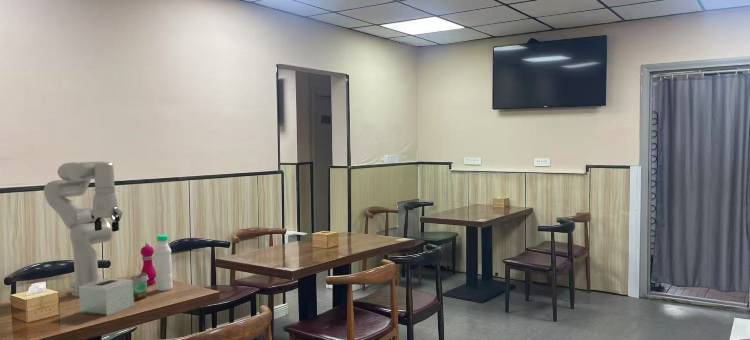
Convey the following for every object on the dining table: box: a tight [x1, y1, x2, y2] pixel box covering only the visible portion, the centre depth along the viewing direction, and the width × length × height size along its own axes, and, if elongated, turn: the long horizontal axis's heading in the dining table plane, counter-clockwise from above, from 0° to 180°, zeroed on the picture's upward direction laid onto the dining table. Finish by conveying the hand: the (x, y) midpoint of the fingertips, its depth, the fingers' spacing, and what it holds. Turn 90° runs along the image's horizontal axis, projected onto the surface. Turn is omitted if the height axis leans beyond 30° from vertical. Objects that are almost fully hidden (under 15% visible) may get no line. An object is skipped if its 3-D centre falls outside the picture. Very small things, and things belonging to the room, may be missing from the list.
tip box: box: [79, 277, 135, 317], centre depth 234 cm, size 14×14×11 cm
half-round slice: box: [127, 272, 149, 302], centre depth 249 cm, size 12×6×10 cm, turn 168°
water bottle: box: [154, 234, 174, 292], centre depth 264 cm, size 7×7×25 cm
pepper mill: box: [139, 242, 157, 287], centre depth 275 cm, size 7×7×20 cm
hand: (106, 230), depth 246 cm, fingers open, 9 cm apart
